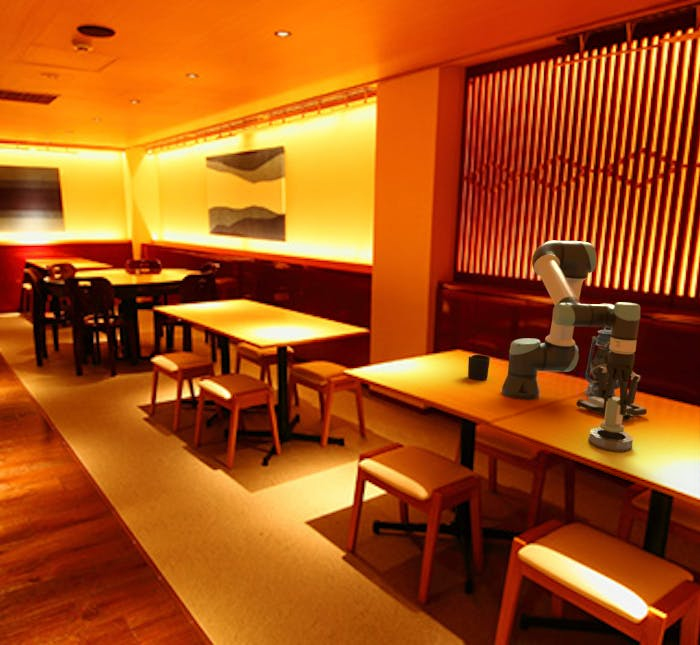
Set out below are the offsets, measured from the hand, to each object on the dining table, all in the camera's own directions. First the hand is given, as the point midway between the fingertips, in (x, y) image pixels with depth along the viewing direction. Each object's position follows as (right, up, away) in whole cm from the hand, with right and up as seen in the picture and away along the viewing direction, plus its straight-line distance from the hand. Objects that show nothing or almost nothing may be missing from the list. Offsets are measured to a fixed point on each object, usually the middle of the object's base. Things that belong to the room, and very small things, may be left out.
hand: (612, 421), depth 182 cm
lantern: (+21, +1, +55) cm, 59 cm away
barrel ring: (0, -8, +2) cm, 8 cm away
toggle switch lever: (0, -2, 0) cm, 2 cm away
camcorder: (+15, -3, +32) cm, 35 cm away
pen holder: (-27, +6, +75) cm, 80 cm away
